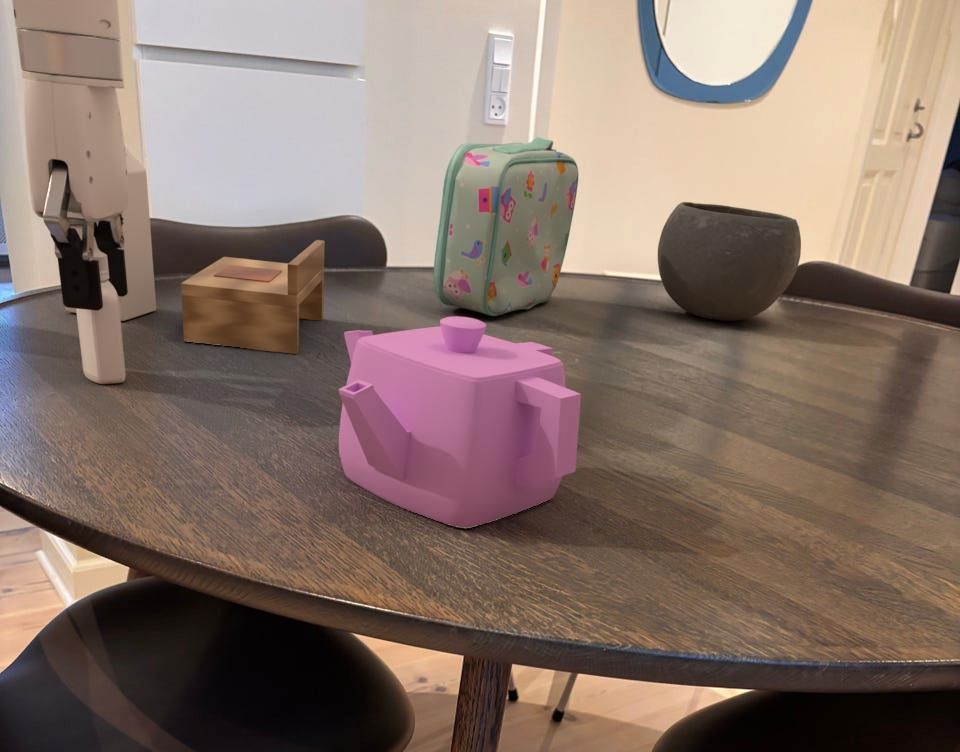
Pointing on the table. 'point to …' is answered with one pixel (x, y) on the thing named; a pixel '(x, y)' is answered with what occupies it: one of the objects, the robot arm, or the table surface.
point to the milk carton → (135, 245)
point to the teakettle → (456, 421)
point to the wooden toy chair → (254, 301)
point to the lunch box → (504, 225)
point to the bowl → (727, 259)
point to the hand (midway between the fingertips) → (96, 299)
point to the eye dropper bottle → (102, 333)
